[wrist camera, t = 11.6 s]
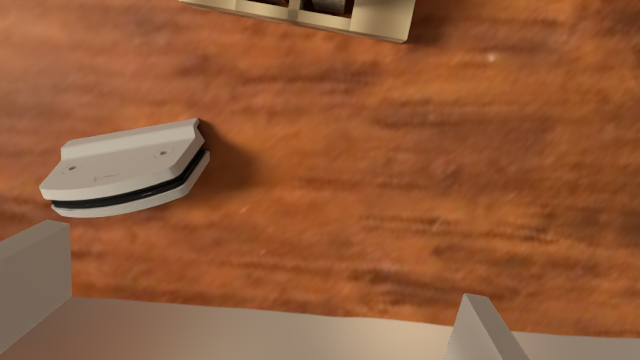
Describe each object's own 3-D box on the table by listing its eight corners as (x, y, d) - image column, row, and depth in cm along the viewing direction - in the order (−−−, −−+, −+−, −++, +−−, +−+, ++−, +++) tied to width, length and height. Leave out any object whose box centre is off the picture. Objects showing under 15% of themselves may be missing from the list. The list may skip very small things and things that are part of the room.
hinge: (201, 117, 42) (173, 165, 33) (215, 152, 44) (192, 204, 36) (66, 140, 43) (7, 192, 35) (87, 173, 46) (38, 228, 38)
